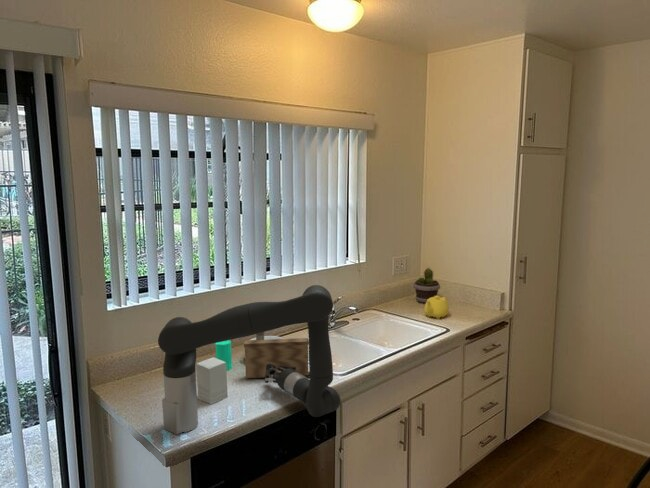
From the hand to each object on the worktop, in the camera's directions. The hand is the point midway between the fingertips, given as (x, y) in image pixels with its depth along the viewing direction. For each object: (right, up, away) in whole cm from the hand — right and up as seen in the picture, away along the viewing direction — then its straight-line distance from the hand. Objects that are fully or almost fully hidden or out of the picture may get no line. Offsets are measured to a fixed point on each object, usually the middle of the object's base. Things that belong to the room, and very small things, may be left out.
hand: (268, 366), depth 181 cm
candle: (-19, -4, +15) cm, 24 cm away
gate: (+3, -5, +6) cm, 8 cm away
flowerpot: (+78, +11, +105) cm, 131 cm away
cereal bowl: (-3, -3, +24) cm, 24 cm away
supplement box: (-18, -8, -10) cm, 22 cm away
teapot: (+77, +7, +78) cm, 110 cm away
